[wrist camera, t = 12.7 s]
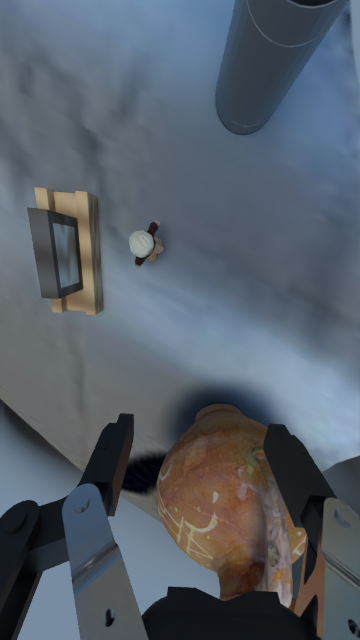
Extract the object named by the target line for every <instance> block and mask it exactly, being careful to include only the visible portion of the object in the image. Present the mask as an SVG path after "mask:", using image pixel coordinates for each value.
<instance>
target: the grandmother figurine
mask: <svg viewBox="0 0 360 640" xmlns="http://www.w3.org/2000/svg"><path fill="white" fill-rule="evenodd" d="M159 227H160V222H159V221H157V220H156V221H155V222H152V223H151V224H150V226H149V229H148V231H147V232H144V231H143V230H141V231H136V232H134V233H132V235H131V237H130V238H129V244H130V250H131V252H132V253H133V254H134V255H136V256H137V257H136V260H135V266H136V267H137V268H139V267H141V265H142V264H143V262H144V261H145V259H147V260H148V261H150V262H154V261H155V260H156V258H157V254H160V253H162V252H163V249H164V248H163V247H162V240H161V239H159V238H156V237H155V236H154V233H155V232H156V231H157V229H158V228H159Z"/></svg>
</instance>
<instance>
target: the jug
mask: <svg viewBox="0 0 360 640" xmlns="http://www.w3.org/2000/svg"><path fill="white" fill-rule="evenodd" d="M267 429H268V427H267V426H265V425H263V424H261V423H260V422H258V421H255V420H253V419H251V418H248V417H246V416H244V415H243V414H242V412H241V411H240V410H239V409H237V408H236V407H235V406H233V405H229V404H220V403H219V404H212V405H209V406H206V407H204V408H202V409H201V410H200V411H199V412H198V413H197V414H196V417H195V420H194V424H193V425H192V426H191V427H190V428H189V429H188V430H187V431H186V432H184V433H183V434H182V436H181V437H180V438H179V439H178V440H177V442H176V443H175V444H174V446H173V447H172V448H171V450H170V451H169V452H168V454H167V455H166V457H165V460H164V462H163V464H162V466H161V470H160V473H159V477H158V481H157V505H158V510H159V513H160V516H161V518H162V522H163V524H164V526H165V528H166V529H167V531H168V533H169V534H170V535H171V537H172V538H173V539H174V541H175V542H176V544H177V545H178V546H179V547H180V548H181V549H182V550H183V551H184V552H185V553H186V554H187V555H188V556H189V557H190V558H192V559H193V560H194V561H196V562H197V563H199V564H200V565H202V566H203V567H206V568H208V569H210V570H212V571H214V572H216V573H217V574H218V577H219V583H220V598H219V599H220V600H222V601H228V600H230V599H232V598H235V597H237V596H239V595H242V594H244V593H246V592H249V591H271V592H278V596H279V599H280V603H281V604H283V605H284V606H286V607H287V608H289V609H290V610H292V611H293V612H294V609H295V604H296V600H295V599H294V598H293V597H292V596H293V585H292V568H291V564H293V563H294V562H295V561H296V560H297V559H298V558H299V557H300V556H301V555H302V553H303V552H304V548H305V540H306V536H307V534H306V531H305V529H304V528H296V527H294V524H293V522H292V520H291V517H290V515H289V512H288V510H287V507H286V505H285V502H284V500H283V497H282V495H281V493H280V490H279V488H278V485H277V483H276V480H275V478H274V475H273V473H272V470H271V468H270V466H269V463H268V461H267V458H266V456H265V453H264V448H263V443H264V439H265V436H266V432H267Z"/></svg>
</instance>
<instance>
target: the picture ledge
mask: <svg viewBox="0 0 360 640" xmlns="http://www.w3.org/2000/svg"><path fill="white" fill-rule="evenodd" d="M34 188H35V194H36V201H37V208H38V209H47V210H51V211H54V212H58V213H61V214H64V215H68V216H71V217H74V218H77V221H78V232H79V244H80V255H81V267H82V278H83V289H82V290H80V291H77V292H75V293H73V294H70V295H68V296H65V297H63V298H60V299H51V304H52V311H53V312H61V313H63V312H64V311H66V310H76V311H86V314H87V315H97V314H98V313H99V312H100V311H102V310H103V297H102V278H101V260H100V242H99V224H98V206H97V198H96V197H94V196H93V195H91V194H90V193H88V192H81V191H75V193H76V194H75V193H63V192H53V191H51V190H49V189H47V188H36V187H34Z"/></svg>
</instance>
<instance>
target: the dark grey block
mask: <svg viewBox="0 0 360 640" xmlns="http://www.w3.org/2000/svg"><path fill="white" fill-rule="evenodd" d="M27 209H28V215H29V222H30V228H31V234H32V240H33V246H34V252H35V259H36V265H37V271H38V277H39V283H40V289H41V296H42V298H50V299H60V298H63V297H65V296H68V295H70V294H73V293H75V292H77V291H80V290H82V289H83V278H82V267H81V255H80V244H79V232H78V221H77V218H74V217H71V216H68V215H64V214H61V213H58V212H54V211H51V210H47V209H38V208H27Z"/></svg>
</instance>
